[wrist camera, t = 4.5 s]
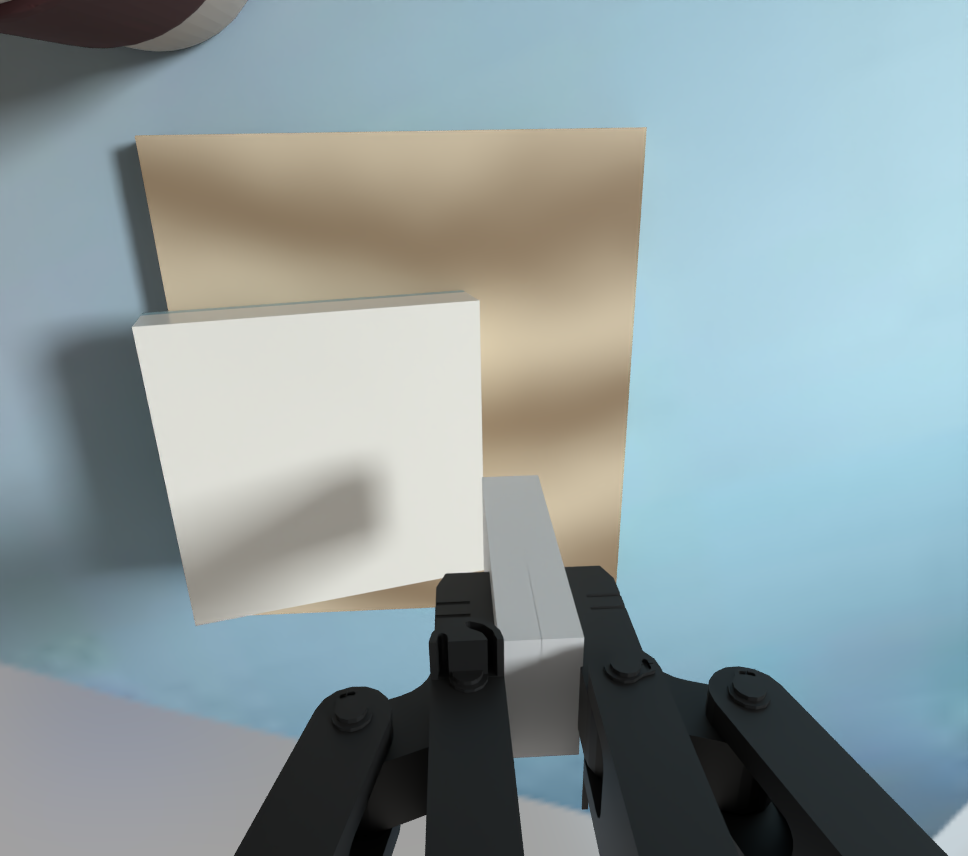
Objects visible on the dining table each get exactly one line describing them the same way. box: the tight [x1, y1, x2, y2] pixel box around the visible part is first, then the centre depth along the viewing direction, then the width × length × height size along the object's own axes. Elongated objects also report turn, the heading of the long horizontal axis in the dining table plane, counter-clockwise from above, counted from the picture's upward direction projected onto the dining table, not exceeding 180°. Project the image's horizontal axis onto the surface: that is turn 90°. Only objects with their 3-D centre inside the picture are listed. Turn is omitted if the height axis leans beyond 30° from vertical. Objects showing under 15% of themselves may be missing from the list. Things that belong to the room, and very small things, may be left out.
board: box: [135, 127, 647, 615], centre depth 25 cm, size 18×16×1 cm
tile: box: [132, 290, 484, 626], centre depth 22 cm, size 10×2×10 cm
